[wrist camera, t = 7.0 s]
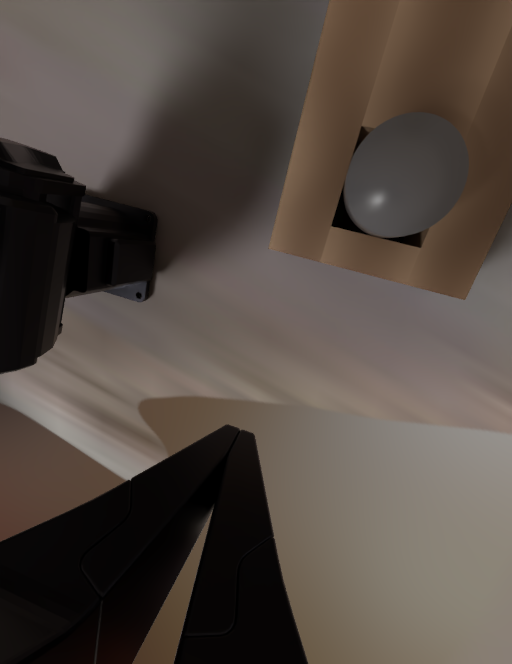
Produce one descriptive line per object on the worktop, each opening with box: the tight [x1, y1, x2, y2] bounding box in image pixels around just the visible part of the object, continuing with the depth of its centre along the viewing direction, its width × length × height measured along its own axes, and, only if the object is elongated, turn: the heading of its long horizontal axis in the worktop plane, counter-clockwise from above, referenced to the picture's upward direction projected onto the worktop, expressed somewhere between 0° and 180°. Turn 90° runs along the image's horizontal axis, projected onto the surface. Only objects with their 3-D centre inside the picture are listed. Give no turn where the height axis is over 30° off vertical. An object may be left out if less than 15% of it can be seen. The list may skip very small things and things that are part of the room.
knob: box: [343, 112, 469, 238], centre depth 14 cm, size 4×4×6 cm
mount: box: [268, 0, 512, 300], centre depth 14 cm, size 10×18×4 cm, turn 166°
